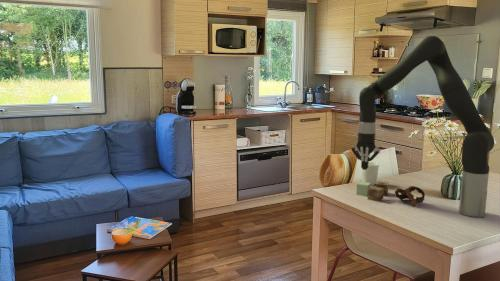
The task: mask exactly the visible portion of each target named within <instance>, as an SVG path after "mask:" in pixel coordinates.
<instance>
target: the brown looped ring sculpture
mask: <svg viewBox="0 0 500 281" xmlns="http://www.w3.org/2000/svg"><path fill="white" fill-rule="evenodd" d="M415 190H416V191H417V193H419V194H421V196H420V197H419V196H416V197H415V195H413V194H412V192H414V191H415ZM394 194H395V196H396V197H397V198H398V199H399V200H400V201H401V202H402V201H403V200H406V199H407V200H411V202H410V206H411V207H415V206H416V205H418V204H419V205H420V204H421V203H423V202H424V201H425V195H426V194H425V192H424V190H423V189H421V188H420V187H418V186H414V185H413V186H408V188H405V189H403V188H397V189H396V190H395V191H394ZM414 197H415V198H414Z"/></svg>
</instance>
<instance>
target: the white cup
mask: <svg viewBox="0 0 500 281" xmlns="http://www.w3.org/2000/svg"><path fill="white" fill-rule="evenodd" d="M379 166H380V165H379V163H377V162H374V161H372V162H371V161H369V163H368V168H367V169H366V170H363V169H362V168H361V172H362V174H361V175H362V176H361V177H362V181H361V182H367V183H371V186H376V185H375V184H376V183H377V181H378V174H379Z"/></svg>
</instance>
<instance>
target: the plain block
mask: <svg viewBox="0 0 500 281" xmlns="http://www.w3.org/2000/svg"><path fill="white" fill-rule="evenodd" d="M370 187H372V185H371V183H367V182H362V181H361V180H360V181H359V182H357V183H356V190H355V191H356V192H355V194H356V195H357V196H364V197H368V188H370Z"/></svg>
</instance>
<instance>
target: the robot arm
mask: <svg viewBox="0 0 500 281" xmlns="http://www.w3.org/2000/svg"><path fill="white" fill-rule="evenodd" d="M425 62H427V63H428V64H429V66H430V67H431V69H432V71H433V73H434V74H435V78H436V81H437V86H438V89H439V92H440V93H441V94H440V95H441V96H442V98H443V100H444V102H445V104H446V106H447V107H448V109H449V110H450V111H451V113H452V114H453V115H454V116H455V117H456V118H457V119H458V120H459V122H460V123H461V124H462V125H463V128H464V129H465V132H466V136H465V137H464V138H463V142H462V147H461V164H462V173H461V174H462V175H461V184H460V186H461V187H460V196H459V206H458V207H459V208H458V213H460V214H461V215H464V216H467V217H473V218H484V217H485V215H486V209H487V208H486V207H487V199H488V198H487V197H488V183H489V175H490V165H489V164H488V153H489V152H490V151H492V149H493V148H494V147H495V139H494V136H493V134H492V133H491V131H490V129H489V128H488V127H487V125H486V123H485V122H484V120H483V118H481V116H480V114H479V111H478V109H477V106H476V105H475V103H474V100H473V99H472V96H471V94H470V92H469V90H468V88H467V86H466V84H465V83H464V81H463V79H462V77H461V76H460V75H459V73H458V72H457V70H456V68H455V67H454V65H453V64H452V61H451V59H450V57H449V54H448V51H447V47H446V44H445V42H444V41H443V40H442V39H441V38H440V37H438V36H436V35H430V36H427V37H425V38H424V39H422V40H421V41H420V42H419V43H418V44H417V45H416V46H415V47H414V48H413V50H412V51H410V52H409V53H408V54H407V55H405V57H404V58H402V59H401V60H399V61H398V63H396V64H394V65H393V66H392V67H391V68H390V69H388V70H387V71H386V72H384V73H383V74H382V75H381V76H379V77H378V78H377V79H376V80H375V81H374V82H372V83H371V84H370V85H368V86H367V87H363V88H362V89H361V90H360V91H359V96H358V100H359V101H358V102H359V120H358V128H357V143H356V144H355V146H354V147H352V148H351V151H352V153H353V154H354V156H355V157H356V159H357V160H359V161H361V162H360V164H361V166H360V167H361V170H362V169H363V170H366V169H367V168H368V163H369V162H371V161H373V160H374V159H375V158H376V157H377V156H378V155H379V154H380V153H381V150H380V149H377V146H376V144H375V142H376V131H377V130H376V129H377V128H376V126H377V125H376V119H377V111H376V109H375V108H376V101H377V100H378V99H379V98H381V97H382V96H383V95H384V94H385V93H387V92H388V91H389V90H392V89H393V88H395V87H396V86H397V85H398V84H400V83H401V82H402V81H403V80H405V78H406V77H407V76H408V75H409V74H410V73H411V72H412V71H413V70H414V69H415V68H417V67H418V66H420V65H421V64H423V63H425ZM372 152H373V154H372ZM371 154H372V155H371Z"/></svg>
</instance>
